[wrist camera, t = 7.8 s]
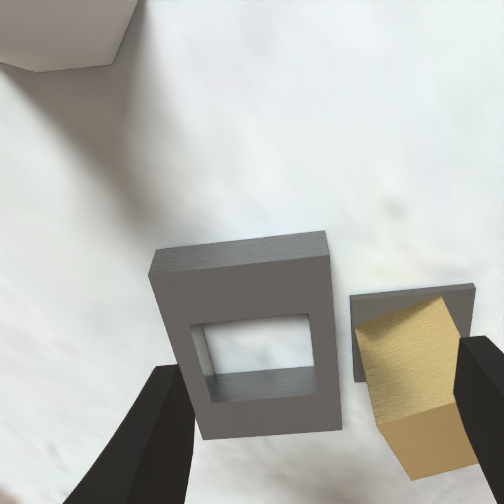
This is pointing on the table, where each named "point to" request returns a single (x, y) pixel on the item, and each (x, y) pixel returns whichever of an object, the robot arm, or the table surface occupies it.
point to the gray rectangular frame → (251, 307)
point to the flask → (62, 32)
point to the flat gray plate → (383, 303)
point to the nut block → (416, 386)
